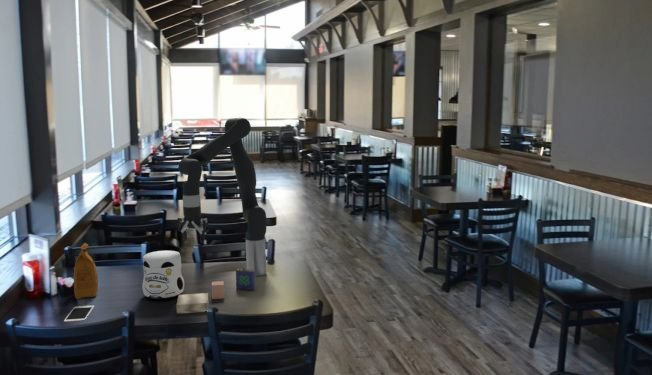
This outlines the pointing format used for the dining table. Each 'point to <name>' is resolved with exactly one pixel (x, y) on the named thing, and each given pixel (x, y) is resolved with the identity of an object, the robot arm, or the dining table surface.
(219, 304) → the dining table surface
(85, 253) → the coffee package
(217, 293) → the terracotta block
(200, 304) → the maple base
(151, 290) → the milk container
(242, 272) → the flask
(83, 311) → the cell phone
